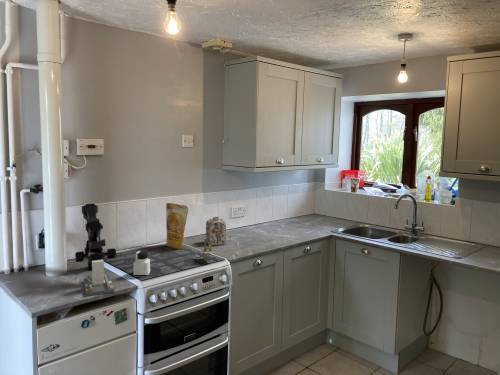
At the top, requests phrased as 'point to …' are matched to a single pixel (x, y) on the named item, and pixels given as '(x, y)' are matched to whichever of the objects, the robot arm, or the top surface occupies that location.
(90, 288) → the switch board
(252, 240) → the top surface
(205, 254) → the architectural model
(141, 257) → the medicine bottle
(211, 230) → the decorative jar
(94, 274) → the slider tab
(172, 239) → the pancake mix bag
